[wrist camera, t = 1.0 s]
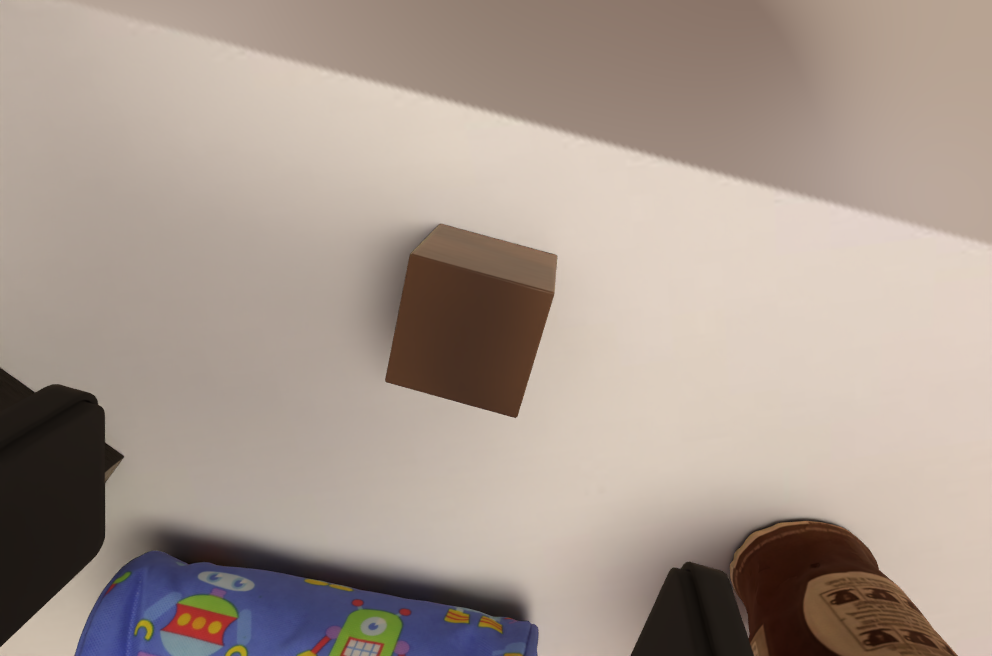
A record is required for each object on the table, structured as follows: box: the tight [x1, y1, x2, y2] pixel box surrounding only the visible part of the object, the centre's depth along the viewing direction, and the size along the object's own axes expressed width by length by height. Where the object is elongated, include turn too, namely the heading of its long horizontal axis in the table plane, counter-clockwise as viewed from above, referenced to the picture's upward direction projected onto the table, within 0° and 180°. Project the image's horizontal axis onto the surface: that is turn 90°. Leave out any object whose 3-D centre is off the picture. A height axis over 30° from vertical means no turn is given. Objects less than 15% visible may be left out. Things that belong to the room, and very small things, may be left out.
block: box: [385, 224, 557, 418], centre depth 23 cm, size 5×5×5 cm
